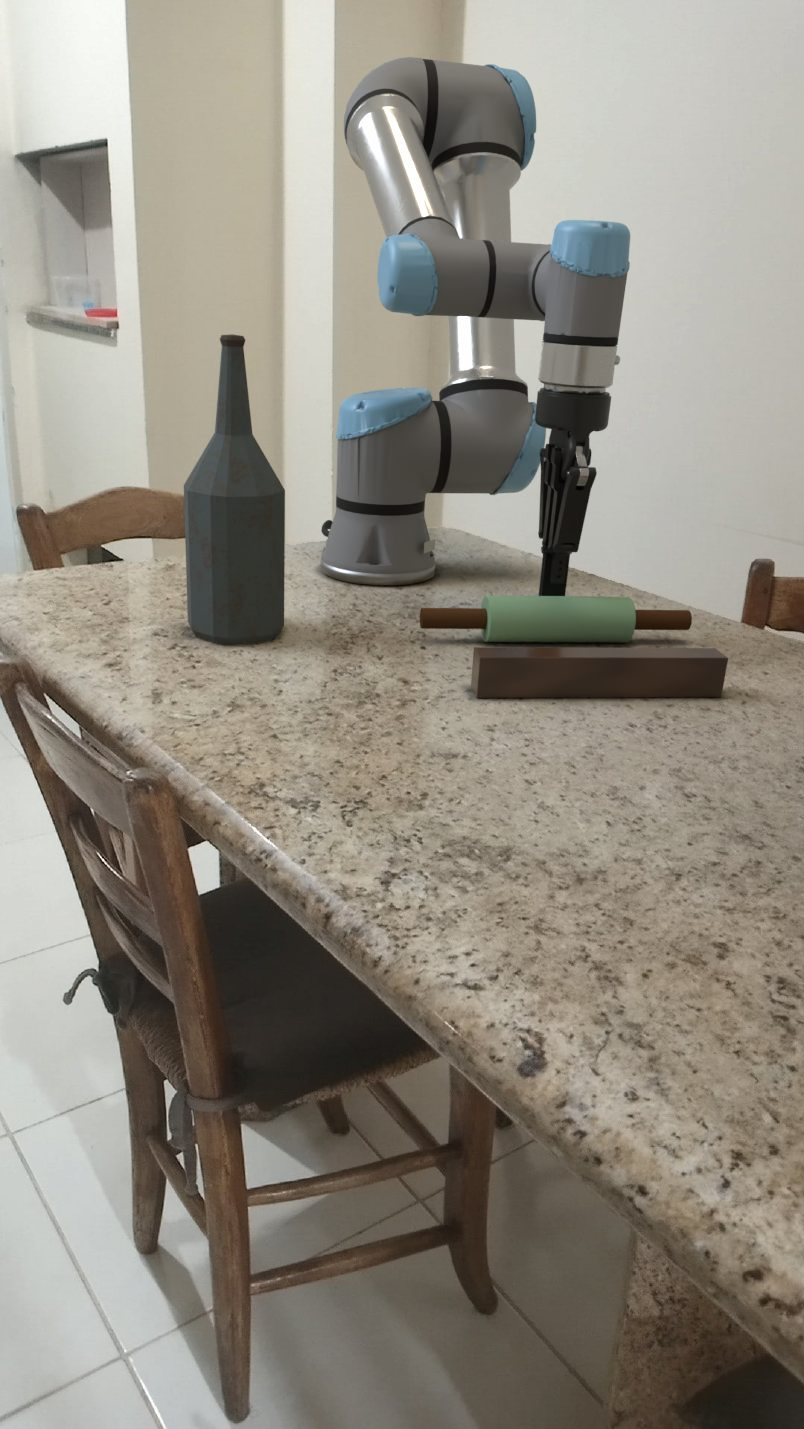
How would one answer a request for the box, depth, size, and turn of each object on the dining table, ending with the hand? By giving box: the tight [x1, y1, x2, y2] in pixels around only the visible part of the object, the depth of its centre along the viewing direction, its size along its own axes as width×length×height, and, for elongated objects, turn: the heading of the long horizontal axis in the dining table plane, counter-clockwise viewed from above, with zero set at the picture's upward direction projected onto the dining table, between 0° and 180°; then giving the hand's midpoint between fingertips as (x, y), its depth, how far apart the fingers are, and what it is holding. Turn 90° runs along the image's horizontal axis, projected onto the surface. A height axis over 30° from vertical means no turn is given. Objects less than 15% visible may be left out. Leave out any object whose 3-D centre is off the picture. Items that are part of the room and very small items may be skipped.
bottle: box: [183, 333, 286, 646], centre depth 104 cm, size 10×10×30 cm
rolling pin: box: [419, 594, 693, 643], centre depth 111 cm, size 30×5×5 cm
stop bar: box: [470, 646, 729, 699], centre depth 97 cm, size 24×3×4 cm, turn 98°
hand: (550, 608), depth 114 cm, fingers closed
